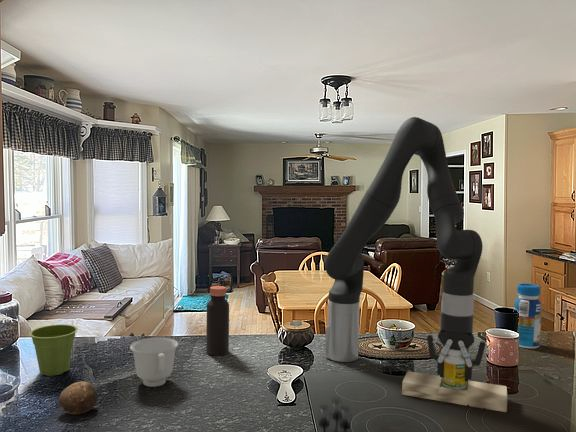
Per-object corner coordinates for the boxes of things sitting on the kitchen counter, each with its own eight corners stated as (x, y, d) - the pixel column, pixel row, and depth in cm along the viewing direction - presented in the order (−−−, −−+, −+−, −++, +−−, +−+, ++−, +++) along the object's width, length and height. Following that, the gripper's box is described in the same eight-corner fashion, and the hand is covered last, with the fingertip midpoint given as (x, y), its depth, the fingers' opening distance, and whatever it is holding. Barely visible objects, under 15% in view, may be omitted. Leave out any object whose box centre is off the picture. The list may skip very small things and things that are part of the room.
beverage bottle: (506, 341, 172) (509, 282, 171) (530, 340, 173) (533, 282, 172) (520, 349, 164) (524, 288, 163) (545, 349, 165) (548, 287, 164)
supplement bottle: (452, 380, 130) (453, 343, 130) (470, 387, 126) (471, 349, 125) (437, 384, 127) (439, 346, 127) (455, 392, 123) (457, 353, 122)
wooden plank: (401, 394, 127) (402, 381, 127) (407, 382, 135) (407, 371, 135) (506, 412, 119) (507, 398, 118) (505, 398, 126) (506, 386, 126)
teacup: (137, 399, 122) (137, 358, 121) (126, 378, 135) (126, 340, 134) (187, 391, 127) (187, 351, 126) (171, 370, 140) (171, 335, 140)
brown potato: (68, 386, 121) (72, 370, 117) (100, 398, 122) (105, 383, 118) (50, 415, 114) (54, 399, 111) (84, 428, 115) (89, 412, 111)
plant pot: (22, 371, 138) (22, 330, 137) (66, 360, 147) (66, 322, 146) (40, 383, 130) (39, 340, 129) (85, 371, 139) (85, 330, 138)
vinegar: (233, 351, 157) (234, 287, 156) (218, 357, 151) (219, 290, 150) (216, 347, 161) (216, 284, 159) (201, 353, 155) (202, 287, 154)
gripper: (425, 311, 125) (422, 379, 126) (488, 318, 119) (485, 389, 120) (428, 304, 131) (426, 369, 133) (488, 310, 126) (485, 377, 127)
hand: (454, 378), depth 127 cm, fingers closed on supplement bottle, 5 cm apart
